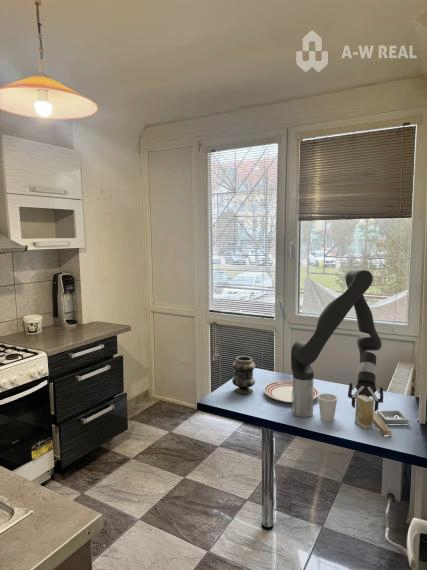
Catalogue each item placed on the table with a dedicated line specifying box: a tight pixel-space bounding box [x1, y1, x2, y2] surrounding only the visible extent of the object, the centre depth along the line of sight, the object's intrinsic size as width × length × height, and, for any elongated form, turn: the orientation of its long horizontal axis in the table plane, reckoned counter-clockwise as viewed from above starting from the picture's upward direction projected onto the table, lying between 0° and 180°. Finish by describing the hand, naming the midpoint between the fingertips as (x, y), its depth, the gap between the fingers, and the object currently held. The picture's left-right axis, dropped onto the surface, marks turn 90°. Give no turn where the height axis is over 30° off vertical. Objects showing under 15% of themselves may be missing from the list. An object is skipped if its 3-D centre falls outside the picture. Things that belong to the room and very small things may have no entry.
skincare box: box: [354, 395, 375, 429], centre depth 167 cm, size 6×4×12 cm
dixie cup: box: [317, 392, 338, 422], centre depth 174 cm, size 8×8×10 cm
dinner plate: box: [263, 380, 320, 404], centre depth 200 cm, size 27×27×3 cm
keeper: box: [376, 409, 410, 425], centre depth 172 cm, size 10×10×2 cm
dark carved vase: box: [231, 355, 256, 396], centre depth 205 cm, size 12×12×18 cm
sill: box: [373, 409, 392, 436], centre depth 167 cm, size 3×20×2 cm, turn 178°
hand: (364, 409), depth 167 cm, fingers open, 8 cm apart
